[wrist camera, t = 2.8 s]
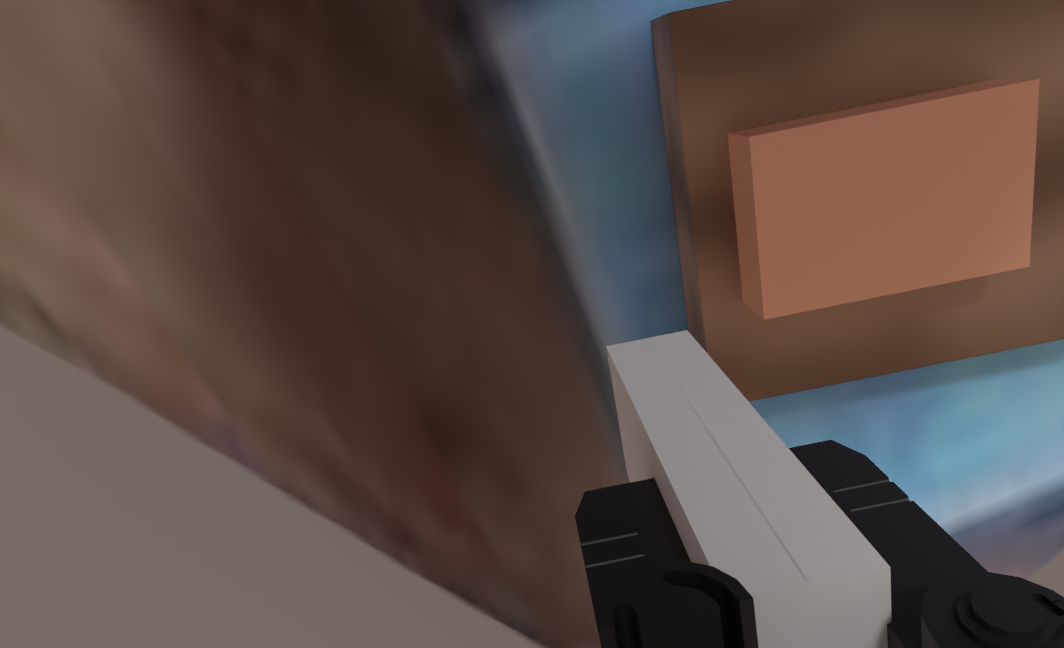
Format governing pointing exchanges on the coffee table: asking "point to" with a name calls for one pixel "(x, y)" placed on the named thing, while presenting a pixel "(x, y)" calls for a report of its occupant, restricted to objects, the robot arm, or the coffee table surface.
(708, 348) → the board
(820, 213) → the salmon flat rectangular block
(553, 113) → the coffee table surface
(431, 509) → the coffee table surface
